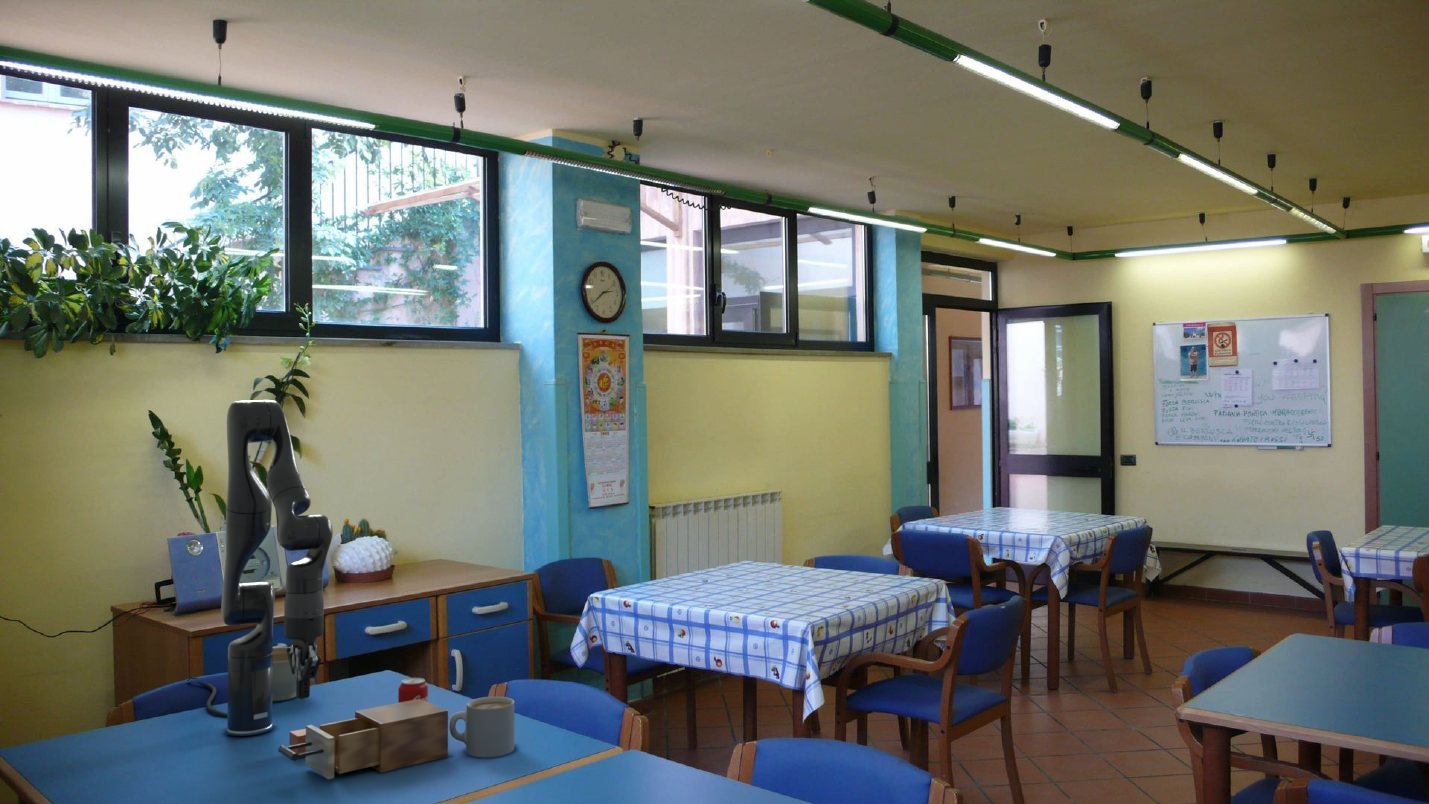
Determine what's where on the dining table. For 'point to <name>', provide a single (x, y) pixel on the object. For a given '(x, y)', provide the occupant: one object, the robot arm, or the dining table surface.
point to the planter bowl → (282, 676)
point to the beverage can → (413, 690)
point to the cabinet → (409, 733)
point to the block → (298, 740)
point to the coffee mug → (486, 726)
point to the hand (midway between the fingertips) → (302, 697)
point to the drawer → (339, 747)
